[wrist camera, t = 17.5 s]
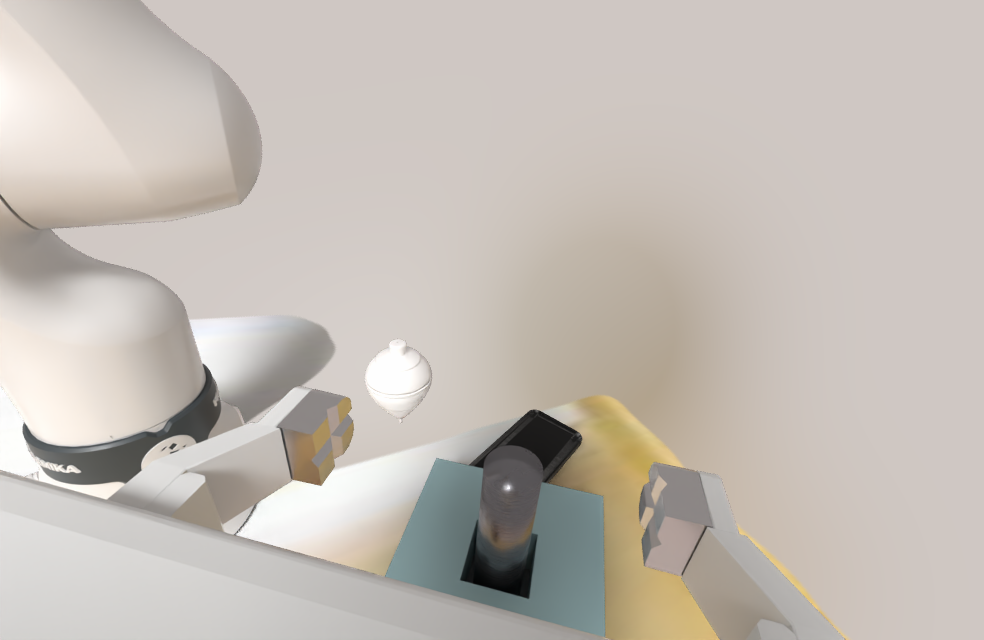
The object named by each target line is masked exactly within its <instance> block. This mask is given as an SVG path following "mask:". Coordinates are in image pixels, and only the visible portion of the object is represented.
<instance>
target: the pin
mask: <svg viewBox="0 0 984 640" xmlns="http://www.w3.org/2000/svg"><path fill="white" fill-rule="evenodd" d="M542 479H543V466H542V464H541V462H540V460H539V459H538V457H537V456H536V455H535V454H534V453H532V452H531V451H529V450H527V449H525V448H522V447H519V446H511V445H510V446H502V447H499V448H496V449H494V450H493V451H491V452H490V453H489V454H488V455H487V457H486V459H485V461H484V467H483V477H482V488H481V499H480V509H479V520H478V530H477V541H476V551H475V562H474V572H473V583H472V584H476V585H479V586H483V587H487V588H490V589H494V590H498V591H501V592H505V593H509V594H512V595H516V596H520V591H521V586H522V581H523V576H524V570H525V565H526V560H527V555H528V550H529V545H530V540H531V535H532V530H533V525H534V520H535V514H536V509H537V504H538V499H539V494H540V489H541V484H542Z"/></svg>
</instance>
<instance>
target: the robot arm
mask: <svg viewBox="0 0 984 640" xmlns="http://www.w3.org/2000/svg"><path fill="white" fill-rule="evenodd" d="M261 160H262V141H261V135H260V131H259V126H258V124H257V121H256V118H255V115H254V113H253V111H252V109H251V106H250V105H249V103H248V101H247V99H246V98H245V96H244V94H243V93H242V92H241V90H240V89H239V87H238V86H237V85H236V83H235V82H234V81H233V80H232V79H231V78H230V76H229V75H228V74H227V73H226V72H225V71H224V70H223V69H222V68H221V67H220V66H218V65H217V64H216V63H215V62H213V60H211V59H210V58H209V57H208V56H206V55H205V54H203V53H202V52H200V51H199V50H197V49H196V48H194V47H193V46H191V45H190V44H189V43H188V42H186V41H185V40H184V39H182V38H181V37H180V36H179V35H177V34H176V33H175V32H174V31H172V30H171V29H170V28H169V27H168V26H167V25H166V24H165V23H163V22H162V21H161V20H160V19H159V18H158V17H157V16H156V15H154V14H153V13H152V12H151V11H150V10H149V9H148V7H146V6H145V5H144V3H143V2H142V1H141V0H0V386H1V388H2V389H3V390H4V392H5V393H6V395H7V396H8V397H9V399H10V400H11V402H12V403H13V405H14V406H15V408H16V409H17V411H18V413H19V414H20V416H21V417H22V419H23V421H24V424H23V435H24V438H25V440H26V443H27V444H26V445H27V448H28V450H29V452H30V454H31V456H32V457H33V459H34V460H35V461H36V462H38V464H39V471H38V472H35V473H34V474H33V473H32V474H30V475H27V476H25V477H23V476H20V475H16V474H12V473H9V472H5V471H2V470H0V640H613V639H609V638H605V637H602V636H598V635H594V634H591V633H587V632H584V631H580V630H576V629H573V628H569V627H565V626H562V625H558V624H555V623H551V622H547V621H544V620H540V619H536V618H533V617H529V616H526V615H522V614H518V613H515V612H511V611H507V610H504V609H500V608H496V607H493V606H489V605H486V604H482V603H478V602H475V601H471V600H467V599H464V598H460V597H457V596H453V595H449V594H446V593H442V592H439V591H435V590H431V589H428V588H424V587H420V586H417V585H413V584H410V583H406V582H402V581H399V580H395V579H392V578H388V577H384V576H381V575H377V574H374V573H370V572H366V571H363V570H359V569H356V568H352V567H348V566H345V565H341V564H338V563H334V562H330V561H327V560H323V559H319V558H316V557H312V556H309V555H305V554H301V553H298V552H294V551H291V550H287V549H283V548H280V547H276V546H273V545H269V544H265V543H262V542H258V541H254V540H251V539H247V538H244V537H240V536H236V535H234V534H235V533H236V532H237V531H238V529H239V528H240V527H241V526H242V525H243V523H244V522H245V521H246V519H247V518H248V516H249V515H250V513H251V511H252V509H253V507H254V505H255V504H256V503H258V502H259V501H261V500H263V499H264V498H266V497H267V496H269V495H270V494H272V493H274V492H275V491H277V490H278V489H280V488H282V487H283V486H285V485H286V484H288V483H289V482H291V481H292V480H297V481H302V482H306V483H311V484H315V485H320V486H321V485H322V484H323V483H324V481H325V480H326V478H327V477H328V476H329V474H330V473H331V471H332V470H333V468H334V467H335V464H334V459H335V458H337V457H339V456H341V455H343V454H344V453H345V451H346V450H347V448H348V447H349V444H350V442H351V439H352V436H353V430H354V425H353V420H352V419H351V417H350V416H349V415H348V413H349V411H350V410H351V409H352V407H351V400H350V399H349V398H348V397H345V396H341V395H337V394H332V393H328V392H324V391H320V390H316V389H315V390H314V389H310V388H306V387H302V386H297V387H294V388H293V389H292V390H291V391H290V392H288V393H287V394H286V395H285V396H284V397H283V398H282V399H281V400H280V401H279V402H278V403H277V404H276V405H275V406H274V407H273V408H272V409H271V410H270V411H269V412H268V413H267V414H266V415H265V416H264V417H263V418H262V419H261V420H260V421H259V422H258V423H254V422H251V423H248V424H246V425H245V423H244V420H243V417H242V415H241V412H240V410H239V409H238V408H237V407H236V406H231V405H230V404H228V403H226V402H223V401H220V398H219V390H218V387H217V384H216V382H215V380H214V378H213V377H212V375H211V372H210V370H209V369H208V368H207V366H205V365H204V364H202V361H201V358H200V355H199V351H198V348H197V345H196V342H195V338H194V335H193V332H192V329H191V326H190V322H189V319H188V316H187V313H186V309H185V306H184V304H183V302H182V301H181V300H180V298H179V297H178V296H177V295H176V294H175V293H174V292H173V291H172V290H171V289H170V288H168V287H167V286H166V285H164V284H163V283H161V282H160V281H158V280H157V279H155V278H153V277H152V276H150V275H147V274H145V273H143V272H140V271H137V270H133V269H130V268H126V267H122V266H118V265H114V264H110V263H106V262H102V261H100V260H97V259H94V258H92V257H89V256H87V255H85V254H83V253H81V252H80V251H78V250H76V249H74V248H73V247H71V246H70V245H68V244H67V243H65V242H64V241H63V240H61V239H60V238H59V237H58V236H57V235H55V233H54V232H53V231H52V230H51V229H55V228H70V227H86V226H102V225H119V224H133V223H134V224H135V223H150V222H166V221H174V220H178V219H183V218H187V217H192V216H196V215H200V214H205V213H209V212H213V211H217V210H220V209H225V208H228V207H232V206H236V205H239V204H241V203H242V202H243V201H244V199H245V198H246V197H247V196H248V194H249V193H250V191H251V190H252V188H253V186H254V184H255V183H256V180H257V177H258V175H259V171H260V167H261ZM291 479H292V480H291ZM649 481H650V482H649V483H647V484H645V485H644V487H643V490H642V493H641V497H640V504H639V519H640V524H641V526H642V527H643V528H644V530H645V532H644V535H643V538H642V550H643V559H644V566H645V567H649V568H653V569H656V570H660V571H664V572H667V573H671V574H674V575H678V576H682V577H681V579H682V580H683V582H684V584H685V585H686V587H687V588H688V590H689V592H690V593H691V595H692V596H693V598H694V600H695V601H696V603H697V604H698V606H699V607H700V609H701V611H702V612H703V614H704V615H705V617H706V619H707V620H708V622H709V623H710V625H711V627H712V628H713V630H714V631H715V633H716V634H717V636H718V638H719V639H720V640H845V638H844V637H843V636H842V635H841V634H840V633H839V632H838V631H837V630H836V629H835V628H834V627H833V626H832V625H831V624H830V623H829V622H828V621H827V620H826V619H825V618H824V616H823V615H822V614H821V613H820V612H819V611H818V610H817V609H816V608H815V607H814V606H813V605H812V604H811V603H810V602H809V601H808V600H807V599H806V598H805V597H804V596H803V595H802V594H801V592H800V591H799V590H798V589H797V588H796V587H795V586H794V585H793V584H792V583H791V582H790V581H789V580H788V579H787V578H786V577H785V576H784V575H783V574H782V573H781V572H780V571H779V570H778V568H777V567H776V566H775V565H774V564H773V563H772V562H771V561H770V560H769V559H768V558H767V557H766V556H765V555H764V554H763V553H762V552H761V551H760V550H759V549H758V548H757V547H756V546H755V544H754V543H753V542H752V541H751V540H750V539H749V538H748V537H747V536H744V535H740V534H739V531H738V528H737V525H736V522H735V519H734V516H733V513H732V510H731V506H730V503H729V500H728V497H727V494H726V491H725V488H724V485H723V482H722V479H721V478H720V477H719V475H716V474H711V473H706V472H701V471H694V470H690V469H686V468H681V467H676V466H671V465H666V464H661V463H656V462H654V463H653V464H652V465H651V468H650V470H649Z"/></svg>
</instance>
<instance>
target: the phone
mask: <svg viewBox="0 0 984 640" xmlns="http://www.w3.org/2000/svg"><path fill="white" fill-rule="evenodd" d="M581 441H582V436H581V434H580V433H579V432H577V431H576V430H574V429H572V428H570V427H568V426H566V425H565V424H563V423H561V422H559V421H557V420H556V419H554V418H552V417H550V416H548V415H547V414H545V413H543V412H541V411H539V410H530V411H529V412H528V413H526V414H525V415H524V416H523V417H522V418H521V419H520V420H519V421H517V422H516V423H515V424H514V425H513V426H512V427H511V428H510V429H509V430H507V431H506V432H505V433H504V434H503V435H502V436H501V437H500V438H499V439H497V440H496V441H495V442H494V443H493V444H492V445H491V446H490V447H489V448H487V449H486V450H485V451H484V452H483V453H482V454H481V455H480V456H478V457H477V458H476V459H475V460H474V461H473V462H472V463H471V464H470V465H469V466H474V467H478V468H482V469H483V467H484V461H485V459H486V457H487V455H488V454H489V453H490V452H491V451H493V450H494V449H496V448H499V447H502V446H510V445H511V446H519V447H522V448H525V449H527V450H529V451H531V452H532V453H534V454H535V455H536V456H537V457H538V459H539V460H540V462H541V464H542V466H543V479H542V482H543V483H549V481H550V480H551V479H552V478H553V477H554V475H555V474H556V473H557V472H558V471H559V470H560V468H561V467H562V466H563V465H564V464H565V462H566V461H567V460H568V459H569V458H570V457H571V455H572V454H573V453H574V452H575V451H576V449H577V448H578V447H579V446H580V444H581Z"/></svg>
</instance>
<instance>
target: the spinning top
mask: <svg viewBox="0 0 984 640" xmlns="http://www.w3.org/2000/svg"><path fill="white" fill-rule="evenodd" d="M431 380H432V373H431V368H430V365H429V363H428V362H427V360H426V359H425V358H424V357H423V356H422V355H421V354H420V353H419V352H418V351H417V350H415V349H413V348H410V347H407V346H406V342H405V341H404V340H402V339H395V340H392V341H391V342H390V343H389V348H386V349H384V350H382V351H380V352H379V353H378V354H377V355H376V356H375V357H374V358H373V359H372V361H371V362H370V363H369V365H368V367H367V370H366V374H365V383H366V387H367V390H368V392H369V394H370V395H371V397H372V398H373V399H374V400H375V402H376V403H377V404H378V405H379V406H380V407H381V408H383V409H384V410H385V411H386V412H388V413H389V414H391V415H392V416H394V417H396V418H398V419H399V423H402V418H404V417H405V416H407V415H408V414H409V413H410V412H412V411H413V410H414V408H416V407H417V406H418V405H419V403H420V402H421V401H422V400H423V398H424V396H425V395H426V393H427V392H428V390H429V388H430V385H431Z"/></svg>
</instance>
